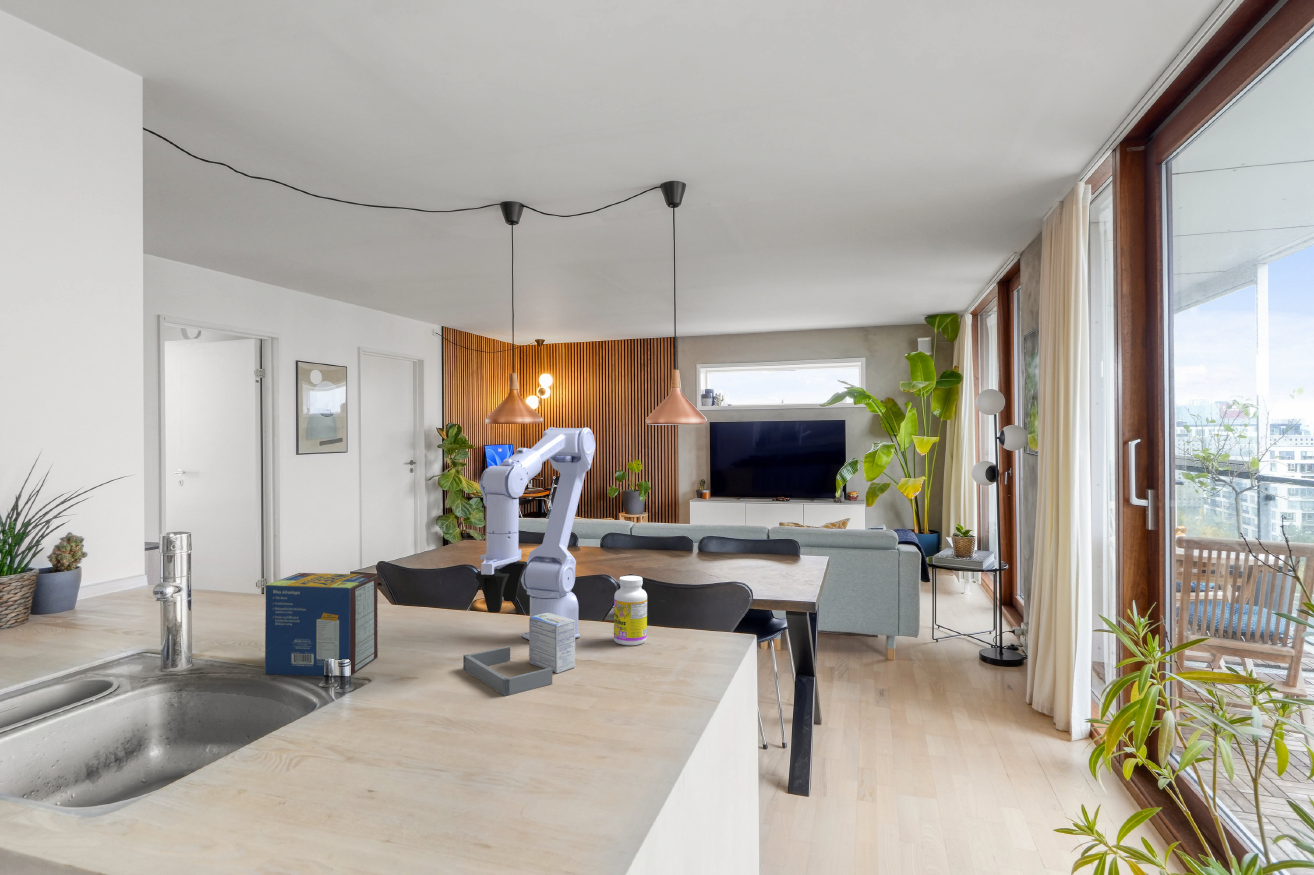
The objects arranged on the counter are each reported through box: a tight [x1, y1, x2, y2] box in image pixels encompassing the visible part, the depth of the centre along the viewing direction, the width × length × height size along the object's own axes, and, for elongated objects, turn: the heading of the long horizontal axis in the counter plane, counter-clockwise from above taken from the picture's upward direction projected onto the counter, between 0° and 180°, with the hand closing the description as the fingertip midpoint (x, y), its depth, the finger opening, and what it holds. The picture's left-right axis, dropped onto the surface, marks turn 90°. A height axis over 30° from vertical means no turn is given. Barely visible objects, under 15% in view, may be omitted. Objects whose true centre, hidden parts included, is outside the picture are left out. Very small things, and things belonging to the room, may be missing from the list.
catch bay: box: [462, 645, 553, 697], centre depth 119 cm, size 9×16×2 cm, turn 40°
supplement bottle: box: [613, 575, 648, 647], centre depth 139 cm, size 7×7×13 cm
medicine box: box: [528, 613, 576, 674], centre depth 124 cm, size 8×4×9 cm, turn 48°
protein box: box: [264, 572, 379, 677], centre depth 123 cm, size 10×15×16 cm
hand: (502, 606), depth 126 cm, fingers open, 7 cm apart
